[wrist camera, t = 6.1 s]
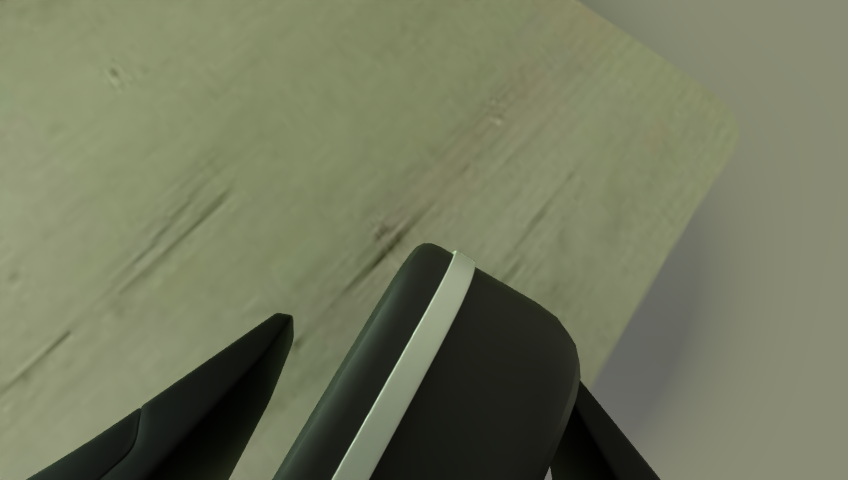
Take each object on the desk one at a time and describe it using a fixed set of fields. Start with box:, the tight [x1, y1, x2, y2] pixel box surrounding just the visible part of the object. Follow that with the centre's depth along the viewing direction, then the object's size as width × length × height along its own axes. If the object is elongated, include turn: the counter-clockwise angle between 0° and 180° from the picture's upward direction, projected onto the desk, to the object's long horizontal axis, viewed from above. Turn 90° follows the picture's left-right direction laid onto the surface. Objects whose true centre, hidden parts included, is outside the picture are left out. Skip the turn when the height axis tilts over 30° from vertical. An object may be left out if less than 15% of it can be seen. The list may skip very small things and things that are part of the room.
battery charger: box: [272, 243, 580, 480], centre depth 10 cm, size 7×4×11 cm, turn 150°
